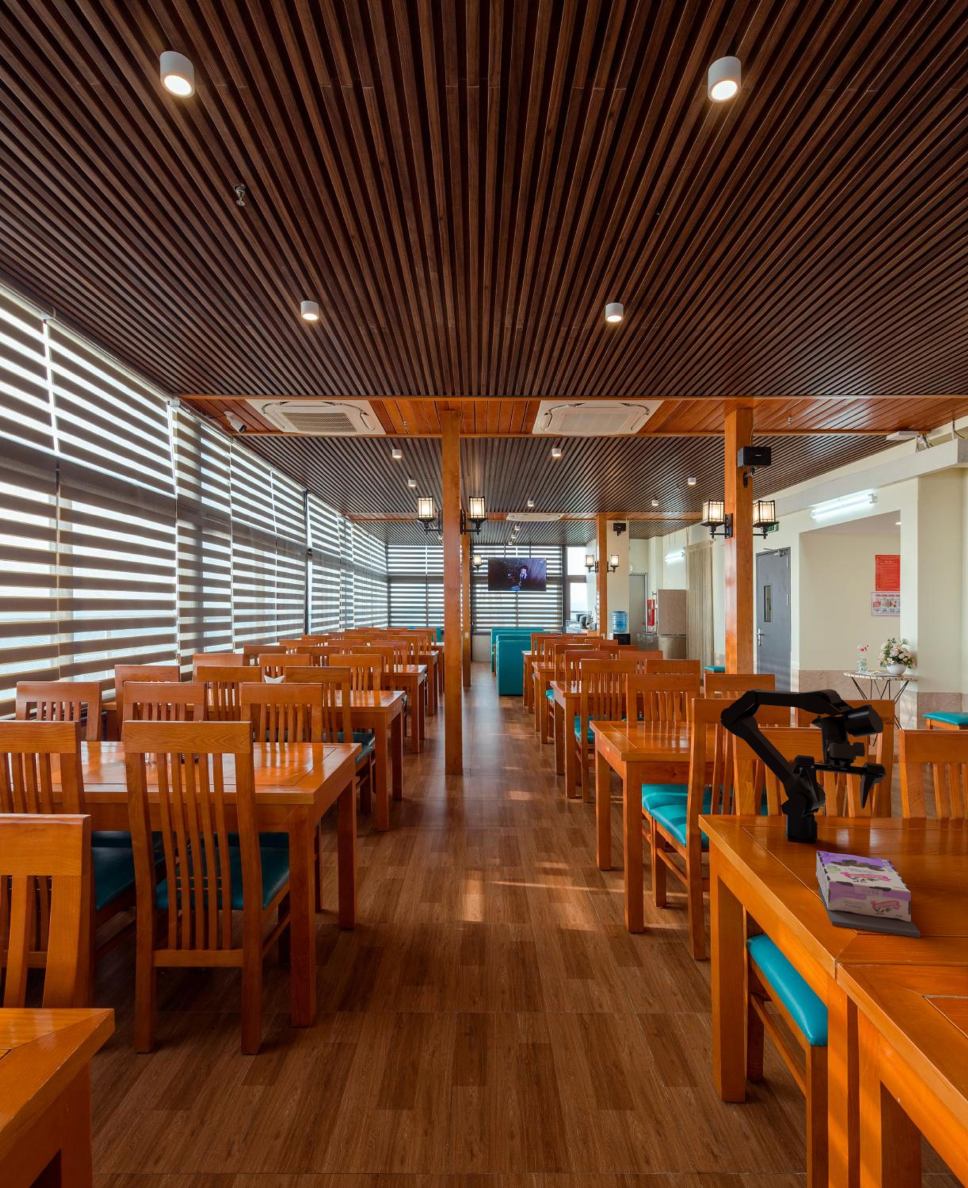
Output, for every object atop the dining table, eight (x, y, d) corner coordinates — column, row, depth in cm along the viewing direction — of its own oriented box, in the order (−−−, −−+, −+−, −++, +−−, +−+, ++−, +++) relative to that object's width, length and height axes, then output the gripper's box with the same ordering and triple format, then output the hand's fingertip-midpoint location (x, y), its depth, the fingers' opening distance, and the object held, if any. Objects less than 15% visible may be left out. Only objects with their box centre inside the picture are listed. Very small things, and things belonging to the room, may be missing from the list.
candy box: (890, 858, 137) (912, 891, 122) (889, 887, 137) (912, 924, 122) (815, 849, 142) (828, 879, 126) (815, 877, 142) (827, 910, 126)
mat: (832, 925, 122) (832, 920, 123) (818, 891, 137) (818, 887, 137) (920, 937, 118) (920, 933, 118) (896, 901, 133) (896, 897, 133)
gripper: (798, 722, 156) (802, 788, 148) (888, 731, 151) (897, 799, 143) (790, 741, 165) (793, 803, 157) (875, 749, 160) (883, 815, 152)
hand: (840, 805), depth 152 cm, fingers open, 9 cm apart
